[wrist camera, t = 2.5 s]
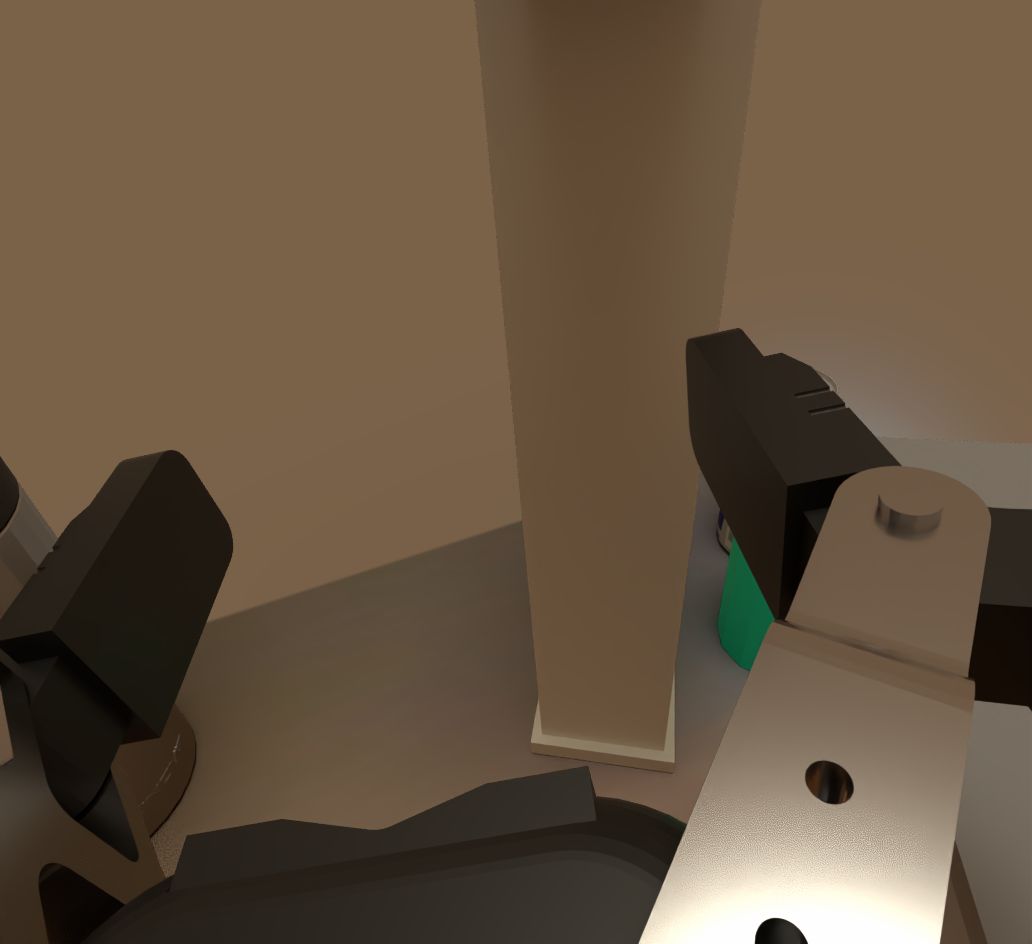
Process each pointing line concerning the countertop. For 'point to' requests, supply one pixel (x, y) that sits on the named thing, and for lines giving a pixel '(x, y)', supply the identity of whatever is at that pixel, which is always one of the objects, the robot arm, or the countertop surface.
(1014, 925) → the grey pedestal
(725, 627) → the candle
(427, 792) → the countertop surface
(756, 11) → the tall stand
